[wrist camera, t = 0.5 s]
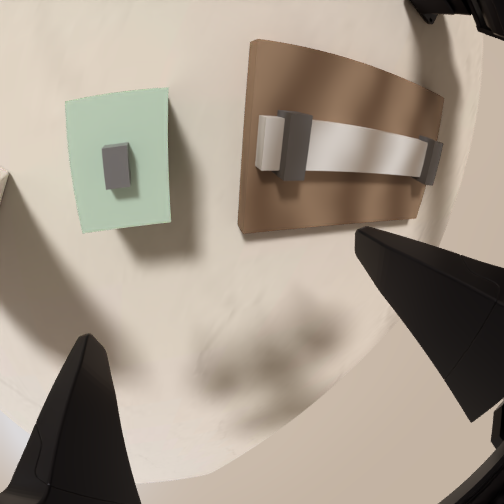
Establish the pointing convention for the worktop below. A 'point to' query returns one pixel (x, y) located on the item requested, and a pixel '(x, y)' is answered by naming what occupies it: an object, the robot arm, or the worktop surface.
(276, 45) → the rail board
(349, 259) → the worktop surface
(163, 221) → the block
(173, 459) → the worktop surface
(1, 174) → the milk carton
